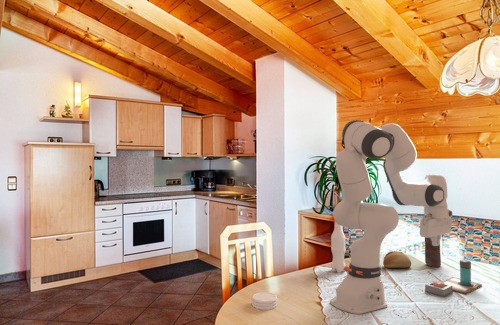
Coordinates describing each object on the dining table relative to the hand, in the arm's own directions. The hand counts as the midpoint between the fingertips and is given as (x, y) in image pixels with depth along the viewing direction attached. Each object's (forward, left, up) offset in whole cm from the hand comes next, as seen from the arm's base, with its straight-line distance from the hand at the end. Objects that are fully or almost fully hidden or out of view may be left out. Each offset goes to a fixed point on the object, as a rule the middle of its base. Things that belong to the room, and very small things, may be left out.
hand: (435, 245), depth 147 cm
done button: (0, -1, -19) cm, 19 cm away
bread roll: (+18, +29, -20) cm, 40 cm away
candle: (+36, +19, -20) cm, 45 cm away
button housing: (0, -1, -20) cm, 20 cm away
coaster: (-66, +34, -20) cm, 77 cm away
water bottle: (-11, +43, -20) cm, 49 cm away
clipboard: (+14, -3, -20) cm, 24 cm away
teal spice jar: (+16, -5, -19) cm, 25 cm away
